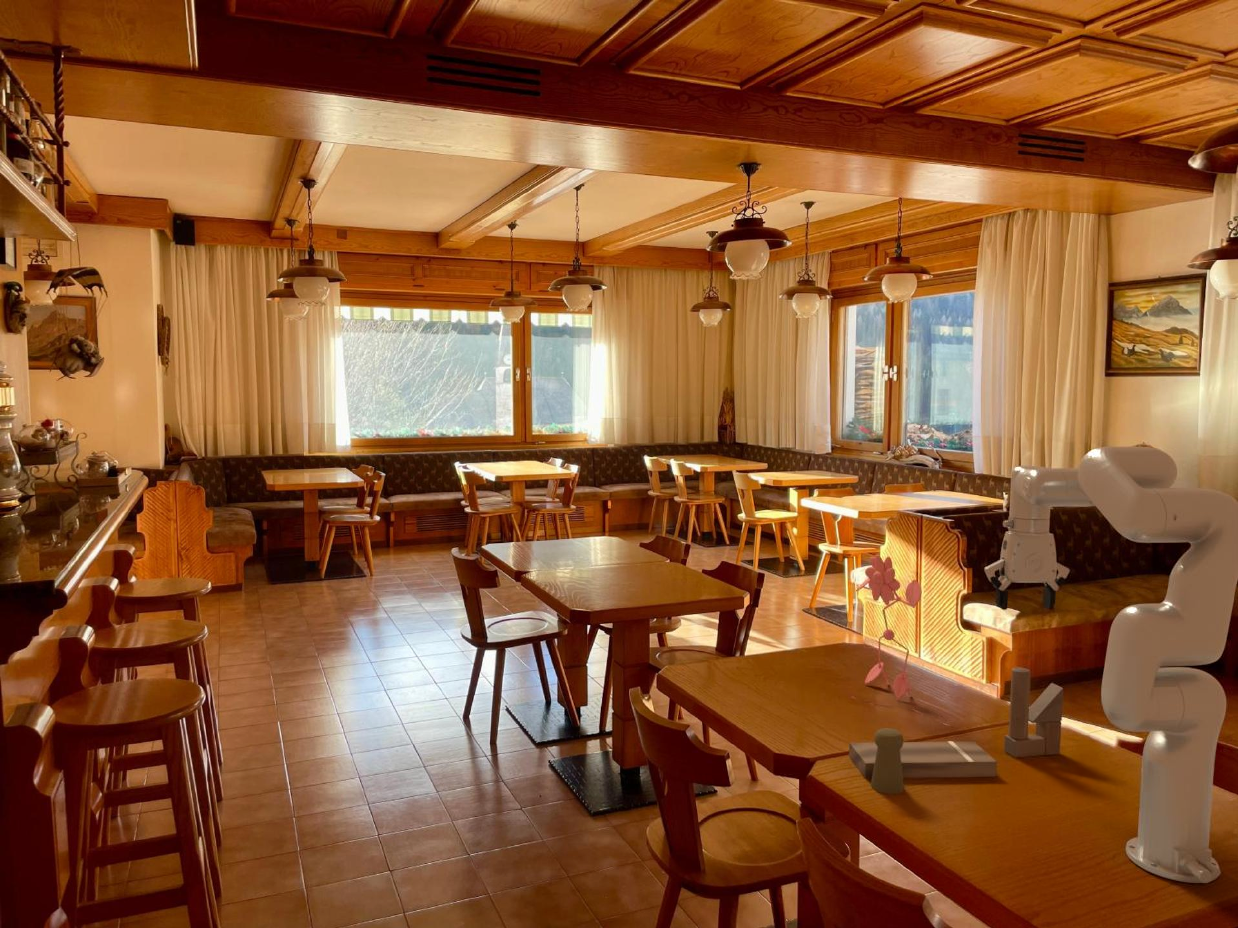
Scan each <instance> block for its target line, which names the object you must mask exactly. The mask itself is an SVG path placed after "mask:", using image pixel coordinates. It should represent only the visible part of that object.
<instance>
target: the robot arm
mask: <svg viewBox="0 0 1238 928" xmlns="http://www.w3.org/2000/svg"><path fill="white" fill-rule="evenodd" d="M1081 458H1082V459H1081V460H1080V462H1079V464H1078V465H1079V466H1078V467H1077V468H1071V467H1069V468H1068V467H1067V468H1065V467H1064V468H1058V467H1057V468H1049V467H1046V466H1039V465H1019V466H1015V467H1013V468H1012V470H1011V474H1010V475H1011V476H1010V477H1011V478H1010V495H1009V516H1008V517H1007V518H1008V519H1007V520H1003V521H1002V526H1003V527H1004V528H1007V530H1008V531H1005V533H1004V537H1003V540H1002V544H1001V551H1000V558H999V560H997V561H994V562H993V563H991V564H989V565H988V566H985V567H984V569H983V570H984V573H985V575H986V577H987V580H988V581H989V582H990V583H991V584H992V585H993V587H994V588H995V604H996V606H997V608H1000V609H1001V610H1003V611H1006V610H1008V601H1009V600H1008V599H1009V591H1008V590H1007V588H1008V587H1009V586H1010V585H1011V584H1012V583H1016V584H1018V583H1019V584H1020V583H1021V584H1022V583H1025V584H1028V583H1029V584H1031V583H1033V584H1038V583H1039V584H1040V583H1041V584H1042V583H1043V584H1044V585H1045V587H1043V589H1042V607H1044V608H1045V609H1048V610H1049V611H1053V610H1054V607H1055V604H1056V593H1057V591H1058V590H1059V588H1060V586H1061V585H1063V584H1064V583H1065V581H1066V579H1067V577H1068V575H1069V573H1070V568H1068V567H1066V566H1064V565H1062V564H1061V563H1059V562H1057V550H1056V549H1057V548H1056V541H1055V537H1054V533H1050V518H1051V508H1054V507H1055V508H1058V507H1062V508H1063V507H1064V508H1065V507H1071V508H1072V507H1073V508H1074V507H1076V508H1077V507H1078V508H1079V507H1083V508H1084V507H1096V508H1097V509H1098V511H1099V512H1100V514H1102V515H1103V516H1104V518H1105V519H1106V520H1107V521H1108V522H1109V524H1110V525H1111V526H1112V527H1113V528H1114V530H1115V531H1117V532H1118V534H1120V535H1121V536H1122V537H1123V538H1126V539H1128V540H1129V541H1132V542H1135V543H1146V544H1151V543H1154V544H1156V543H1189V544H1190V547H1189V549H1188V550H1187V551H1186V552H1184V553H1183V554H1182V556H1180V558H1179V559H1178V560H1177V562H1176V563H1175V565H1174V566H1173V568H1172V569H1171V572H1170V574H1169V579H1168V587H1167V590H1166V591H1167V592H1166V595H1165V598H1164V600H1163V601H1161V602H1160V603H1138V604H1131V605H1129V606H1126V607H1125V608H1123V609H1122V610H1120V611H1119V612H1118V613H1117V615H1116V617H1114V620H1113V621H1112V624H1111V626H1110V630H1109V635H1108V641H1107V646H1106V652H1105V653H1106V654H1105V659H1104V668H1103V674H1102V680H1101V681H1102V682H1101V688H1100V689H1101V694H1100V697H1101V699H1100V700H1101V705H1102V709H1103V712H1104V714H1105V716H1106V718H1107V720H1109V722H1110V723H1111V724H1112V725H1113V726H1115V727H1116V728H1118V729H1120V730H1123V731H1127V732H1133V733H1134V732H1135V733H1136V732H1137V733H1139V732H1141V733H1143V732H1144V733H1145V732H1147V733H1148V732H1149V734H1148V736H1147V738H1146V740H1145V743H1144V747H1143V750H1142V760H1141V762H1142V763H1141V776H1140V777H1141V778H1140V793H1139V794H1140V795H1139V811H1138V812H1139V813H1138V814H1139V815H1138V825H1137V826H1138V830H1137V836H1136V837H1133V838H1130V839H1129V840H1127V842H1126V844H1125V852H1126V855H1127V856H1128V858H1129V859H1130V860H1131V861H1132V862H1133V863H1134V864H1135V865H1137V866H1139V867H1140V868H1141V869H1142V870H1145V871H1147V872H1149V873H1151V874H1154V875H1156V876H1159V877H1162V878H1165V879H1169V880H1172V881H1177V882H1181V883H1182V882H1183V883H1188V884H1189V883H1191V884H1192V883H1193V884H1208V883H1210V882H1212V881H1214V880H1216V879H1217V878H1218V877H1219V876H1220V875H1221V873H1222V871H1221V869H1220V865H1219V863H1218V861H1216V859H1215V858H1213V857H1212V854H1213V850H1212V849H1210V848H1209V846H1210V845H1209V844H1210V831H1211V830H1210V829H1211V815H1212V814H1211V812H1212V803H1213V802H1212V799H1213V785H1214V772H1215V760H1216V751H1217V746H1218V745H1217V743H1218V739H1219V736H1220V732H1221V729H1222V725H1223V723H1224V719H1225V716H1226V712H1227V711H1226V710H1227V696H1226V693H1225V690H1224V688H1223V686H1222V685H1221V683H1220V682H1219V681H1218V680H1217V679H1216V677H1214V676H1213V675H1212V674H1210V673H1208V672H1206V671H1205V670H1202V669H1197V668H1192V667H1191V666H1202V665H1209V664H1212V663H1215V662H1217V661H1218V660H1219V659H1220V658H1221V656H1222V654H1223V652H1224V650H1225V648H1226V644H1227V643H1226V642H1227V637H1228V633H1229V627H1230V622H1231V617H1232V611H1233V607H1234V601H1235V593H1236V588H1237V585H1238V500H1237V499H1236V498H1235V497H1233V496H1231V495H1230V494H1228V493H1226V492H1223V491H1220V490H1216V489H1211V488H1204V487H1202V488H1201V487H1172V486H1173V485H1174V483H1175V481H1176V480H1177V477H1178V467H1177V463H1176V462H1175V461H1174V458H1172V457H1171V455H1169V454H1168V453H1166V452H1165V451H1163V450H1162V449H1158V448H1155V447H1150V446H1099V447H1096V448H1093V449H1092V450H1089V451H1088V452H1087V453H1086V454H1085V455H1084V456H1083V457H1081ZM998 570H999V575H1000V576H999V577H998V578H997V577H996V575H995V572H996V571H998ZM1057 571H1058V573H1057ZM1186 666H1190V667H1186Z"/></svg>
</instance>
